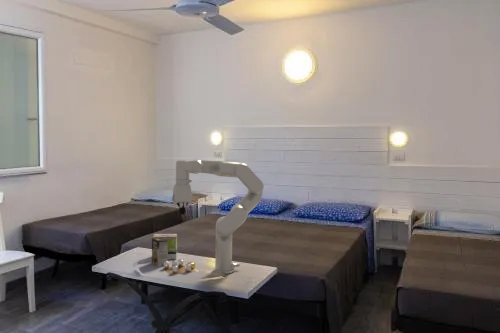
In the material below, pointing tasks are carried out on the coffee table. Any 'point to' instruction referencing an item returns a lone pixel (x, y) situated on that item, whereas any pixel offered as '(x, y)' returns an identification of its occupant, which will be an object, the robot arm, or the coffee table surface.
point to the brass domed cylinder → (192, 265)
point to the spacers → (175, 266)
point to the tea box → (169, 244)
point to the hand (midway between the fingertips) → (182, 214)
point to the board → (180, 270)
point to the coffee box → (159, 251)
